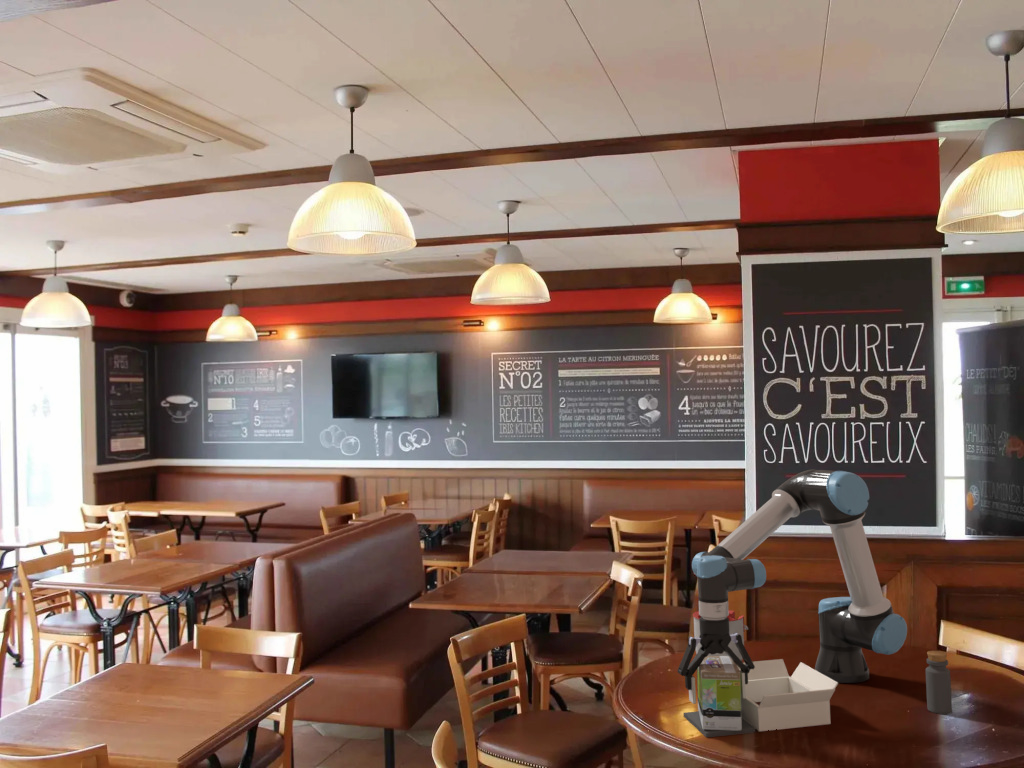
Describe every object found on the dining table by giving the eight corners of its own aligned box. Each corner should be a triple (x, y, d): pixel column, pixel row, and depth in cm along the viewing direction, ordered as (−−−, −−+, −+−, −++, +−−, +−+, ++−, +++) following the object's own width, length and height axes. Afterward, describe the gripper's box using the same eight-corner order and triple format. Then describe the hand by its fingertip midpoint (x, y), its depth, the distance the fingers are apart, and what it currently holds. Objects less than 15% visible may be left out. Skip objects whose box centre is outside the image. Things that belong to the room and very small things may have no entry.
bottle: (950, 707, 225) (947, 650, 226) (953, 715, 220) (950, 656, 220) (925, 705, 227) (923, 649, 228) (929, 713, 222) (926, 655, 222)
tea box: (743, 731, 211) (740, 671, 211) (702, 730, 212) (699, 671, 213) (735, 710, 226) (733, 654, 226) (697, 709, 227) (695, 654, 227)
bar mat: (729, 711, 227) (729, 708, 227) (755, 732, 213) (754, 728, 213) (683, 716, 225) (683, 712, 225) (706, 737, 210) (706, 733, 210)
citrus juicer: (760, 673, 259) (758, 607, 260) (708, 679, 255) (705, 612, 256) (735, 659, 274) (733, 597, 275) (686, 664, 270) (683, 601, 271)
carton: (795, 692, 241) (793, 657, 241) (849, 727, 214) (847, 687, 214) (719, 700, 237) (718, 664, 237) (765, 736, 210) (763, 695, 210)
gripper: (673, 624, 214) (677, 709, 213) (765, 616, 218) (769, 699, 218) (663, 617, 221) (666, 699, 221) (752, 609, 226) (755, 690, 225)
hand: (717, 699), depth 219 cm, fingers open, 13 cm apart
